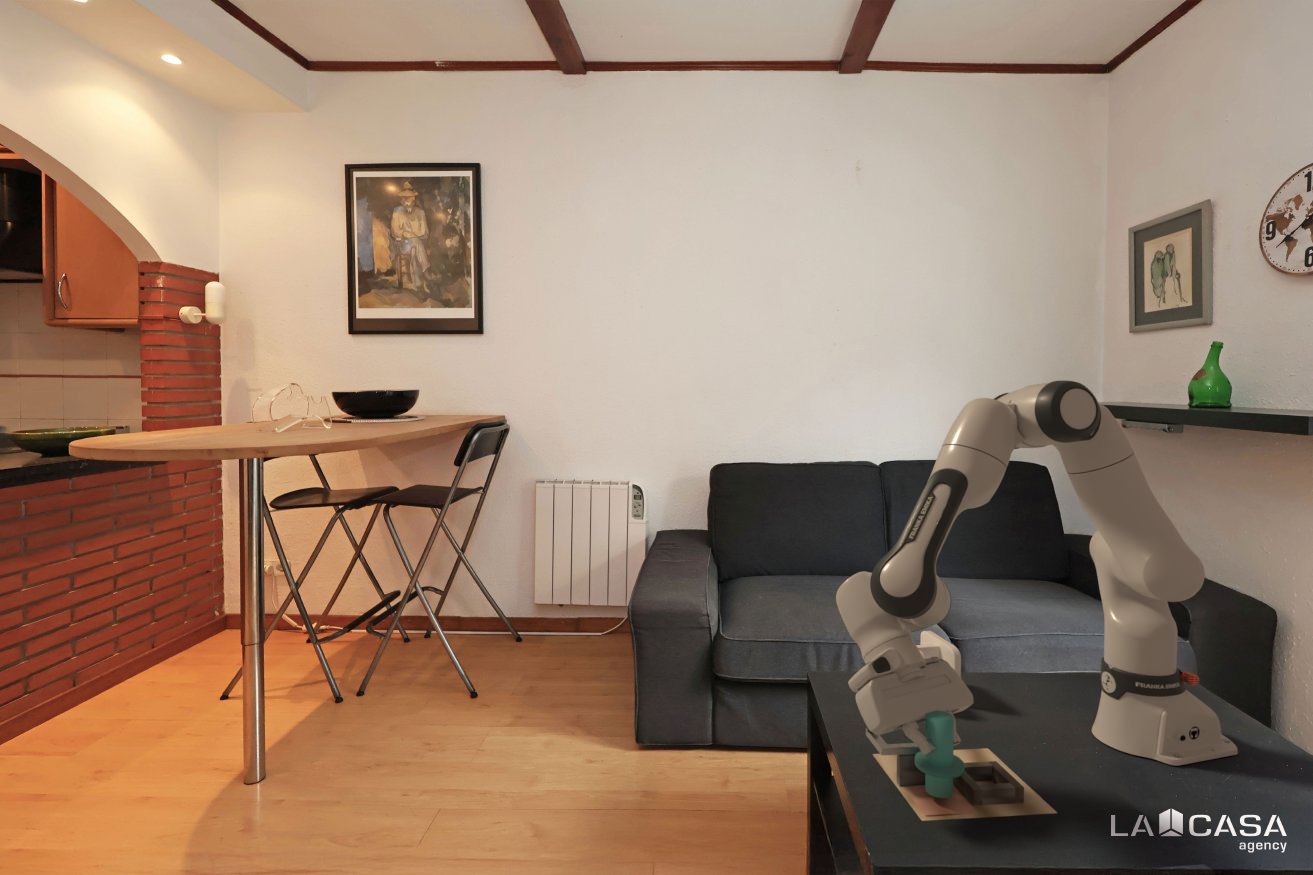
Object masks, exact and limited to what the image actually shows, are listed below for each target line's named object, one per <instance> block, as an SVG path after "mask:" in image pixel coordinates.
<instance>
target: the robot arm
mask: <svg viewBox="0 0 1313 875" xmlns="http://www.w3.org/2000/svg"><path fill="white" fill-rule="evenodd" d="M1047 446H1053V447H1055V449H1057V451H1058V452H1059V455H1060V458H1061V460H1062V463H1063V465H1064V468H1065V471H1066V474H1067V475H1068V479H1069V480H1070V483H1071V485H1072V487H1073V489H1074V492H1075V494H1076V496H1077V499H1078V500H1079V503H1080V505H1081V508H1082V510H1083V512H1084V513H1085V514H1086V516H1087V517H1088V518H1089V520H1091V522H1092V523H1093V525H1094V526H1095V528H1096V529H1097V530H1096V531H1095V532H1094V533H1093V535H1092V537H1091V539H1090V542H1089V554H1090V556H1091V559H1092V562H1093V563H1094V566H1095V570H1096V576H1097V577H1096V578H1097V581H1098V587H1099V588H1098V589H1099V594H1100V598H1101V605H1102V609H1103V610H1102V611H1103V617H1104V626H1103V627H1104V634H1103V635H1104V636H1103V637H1104V638H1103V639H1104V640H1103V656H1102V658H1101V659H1100V674H1099V675H1100V677H1099V678H1100V685H1101V692H1100V693H1101V694H1100V699H1099V704H1098V708H1097V709H1098V710H1097V712H1096V717H1095V720H1094V722H1093V724H1092V727H1091V733H1092V734H1093V736H1094V737H1095V738H1096V739H1097V740H1099V741H1100V742H1102V743H1103V744H1105V745H1106V746H1109V747H1111V748H1112V749H1115V750H1117V751H1120V752H1122V753H1127V754H1130V755H1134V756H1138V757H1143V758H1148V759H1152V760H1156V761H1158V762H1162V763H1163V764H1166V765H1170V766H1178V767H1179V766H1183V765H1189V764H1194V763H1200V762H1204V761H1210V760H1215V759H1220V758H1224V757H1229V756H1236V755H1238V754H1239V750H1238V747H1237V745H1236V744H1235V743H1234V742H1233V741H1232V739H1229V738H1228V737H1226V736H1225V735H1224V734H1222V728H1221V723H1220V720H1219V717H1218V715H1217V713H1216V712H1215V711H1214V710H1213V709H1212V708H1211V707H1210V706H1208V705H1207V704H1205V702H1203V701H1202V700H1200V699H1199V698H1198V697H1196V696H1195V695H1194V694H1192V693H1191V692H1190V691H1189V690H1187V689H1186V686H1185V684H1184V683H1187V684H1188V685H1190V686H1193V687H1195V686H1197V685H1198V684H1199V683H1200V677H1199V676H1198V675H1197V674H1195V673H1192V671H1182V670H1181V669H1180V668H1178V667H1177V663H1178V662H1177V658H1178V655H1177V654H1178V626H1177V622H1176V620H1175V618H1174V617H1173V615H1172V612H1171V608H1170V607H1169V602H1171V603H1177V602H1182V601H1183V602H1184V601H1187V600H1189V599H1190V598H1192V597H1193V596H1195V595H1197V593H1198V592H1199V591H1200V590H1201V589H1202V587H1203V584H1204V583H1205V582H1204V581H1205V576H1206V572H1205V567H1204V564H1203V562H1202V560H1201V559H1200V557H1199V556H1198V555H1197V554H1196V553H1195V552H1194V551H1193V550H1192V549H1191V548H1190V547H1189V546H1188V544H1187V542H1185V541H1184V539H1183V537H1182V535H1181V533H1179V531H1178V529H1177V527H1176V526H1175V525H1174V523H1173V522H1172V520H1171V519H1170V518H1169V516H1168V514H1167V513H1166V511H1165V509H1163V507H1162V506H1161V505H1160V502H1158V500H1157V498H1156V496H1155V495H1154V493H1153V491H1152V490H1151V487H1150V485H1149V483H1148V481H1147V478H1146V476H1145V474H1144V472H1143V470H1142V468H1141V465H1140V463H1139V461H1138V458H1137V457H1136V455H1135V452H1134V451H1135V450H1134V449H1133V447H1132V446H1131V442H1130V441H1129V439H1128V438H1127V436H1126V434H1125V431H1124V430H1123V428H1122V427H1121V425H1120V424H1119V422H1118V421H1117V419H1116V418H1115V416H1114V415H1113V414H1112V412H1111V411H1110V409H1109V408H1107V407H1106V406H1105V405H1104V404H1101V403H1099V401H1098V399H1097V397H1096V395H1094V393H1093V392H1092V390H1090V389H1089V388H1088V387H1087V386H1085V385H1084V384H1082V383H1080V382H1078V381H1073V380H1064V379H1062V380H1053V381H1050V382H1044V383H1038V384H1032V385H1031V384H1030V385H1027V386H1024V387H1022V388H1020V389H1017V390H1014V391H1011V392H1005V393H1002V394H999V395H997V396H996V397H994V398H988V397H983V398H982V397H980V398H976V399H972V400H970V401H969V402H967V403H966V404H965V405H964V406H963V407H962V409H961V410H960V412H959V414H958V415H957V416H956V418H955V420H954V421H953V423H952V424H951V427H950V428H949V430H948V432H947V434H946V436H945V438H944V440H943V443H942V445H941V448H940V450H939V452H938V454H937V457H936V460H935V463H934V466H933V468H932V470H931V473H930V476H929V478H928V480H927V482H926V485H925V486H924V488H923V489H922V492H921V494H920V496H919V498H918V499H917V500H916V501H917V502H916V504H915V506H914V507H913V510H912V511H911V514H910V516H909V518H908V521H907V522H906V524H905V526H904V528H903V530H902V532H901V534H900V536H899V537H898V540H897V541H896V543H895V544H894V546H892V548H890V550H889V551H888V552H886V554H885V555H883V557H882V558H880V559H879V561H878V562H877V563H876V564H875V566H874V568H873V570H872V572H869V571H866V570H865V571H864V570H863V571H858V572H856V573H855V574H851V575H850V576H849V577H847V578H846V579H845V580H844V581H843V582H841V584H840V585H839V587H838V589H837V591H836V595H835V602H836V606H837V608H838V612H839V614H840V616H841V618H842V621H843V623H844V625H845V628H846V630H847V631H848V633H849V636H850V637H851V638H852V639H853V642H855V643H856V644H857V646H858V647H859V649H860V653H861V658H862V659H863V661H864V665H863V666H862V667H861V668H860V669H859V670H858V671H857V672H856V673H854V675H852V677H851V678H850V679H849V680H848V682H847V683H848V686H849V688H850V690H851V691H852V692H853V693H856V694H855V702H856V705H857V707H858V710H859V714H860V715H861V718H862V719H863V722H864V723H865V725H866V728H867V727H868V729H869V730H870V731H871V732H872V733H874V734H875V735H880V736H881V735H885V734H887V733H891V732H895V731H898V730H902V731H903V733H904V735H905V736H906V737H907V738H908V739H910V741H912V743H916V744H917V745H918V747H919V748H920V750H921V752H922V754H923V755H926V754H929V753H932V752H933V751H935V750H936V747H935V745H934V744H933V742H932V740H931V738H929V739H926V736H924V734H922V733H921V731H919V729H920V726H919V725H920V724H923V723H926V713H929V712H932V711H936V710H938V711H944V712H947V713H949V714H951V715H952V716H953V717H954V745H953V747H955V746H957V745H959V744H960V743H961V742H962V740H961V737H960V735H959V734H958V732H957V723H956V717H955V715H954V714H957V713H960V712H963V711H965V710H967V709H969V707H971V706H972V705H973V704H974V695H973V693H972V691H971V690H970V689H969V687H968V686H967V684H966V683H965V681H964V680H963V679H962V677H961V678H960V676H959V675H958V674H957V672H956V671H955V670H954V669H953V668H952V667H951V666H950V665H949V663H948V662H947V661H944V660H943V659H940V658H939V657H936V656H935V657H931V658H928V659H924V658H923V656H922V654H921V653H920V651H919V649H918V648H917V646H916V645H917V644H916V643H915V640H914V639H913V638H912V636H911V633H914V632H918V631H922V630H924V629H927V628H931V627H933V626H935V625H938V624H939V623H942V622H943V620H944V619H945V618H947V617H948V614H949V613H950V610H951V606H952V596H951V592H950V590H949V587H948V586H947V584H946V583H945V582H944V581H943V579H941V577H940V576H938V574H937V560H938V557H939V555H940V553H941V551H942V548H943V546H944V544H945V543H946V540H947V537H948V535H949V533H950V531H951V529H952V527H953V524H954V523H955V520H956V519H957V518H958V516H959V515H960V514H962V512H965V510H969V509H975V508H979V507H982V506H984V505H986V504H988V503H989V502H991V499H992V498H993V496H994V495H995V493H996V492H997V490H998V488H999V487H1000V484H1001V483H1002V480H1003V478H1004V476H1005V473H1006V470H1007V468H1008V466H1009V464H1010V459H1011V456H1012V453H1013V452H1014V450H1018V449H1035V448H1036V449H1037V448H1039V449H1040V448H1044V447H1047ZM939 661H941V662H939Z"/></svg>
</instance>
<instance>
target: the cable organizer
mask: <svg viewBox="0 0 1313 875" xmlns="http://www.w3.org/2000/svg"><path fill="white" fill-rule="evenodd" d="M916 646H917V648H918V649H919V651H920V653H921V654H922V656H923V658H924V659H928V658H931V657H935V656H936V657H939V658H940V659H943V660H944V661H947V662H948V663H949V665H950V666H951V667H952V668H953V669H954V670H955V671H956V672H957V674H958V675H959V676H960V678H961V679H962V655H961V652H960V650H959V649H958V648H957V647H956V645H954V644H953V643H951V642H949V641H947V640H946V639H944V638H943V637H941V636H939V635H938V634H937V633H935V632H934V631H932V630H923V631H921V633H920V644H916ZM939 662H941V661H939Z"/></svg>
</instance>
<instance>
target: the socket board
mask: <svg viewBox="0 0 1313 875" xmlns="http://www.w3.org/2000/svg"><path fill="white" fill-rule="evenodd" d="M915 755H916V754H901V755H882V756H881V754H880V753H872V756H873V758H875V760H876V761H877V763H878V764H879V765H880V767H881V768H882V769H883V771H884V772H885V773H886V775H887V776H888V777H889V779H890V780H891V782H892V783H893V784H894V785H895V787H896V788H897V789H898V791H899V792H900V794H902V796H903V798H904V799H905V800H906V801H907V803H908V804H909V806H910V807H911V808H912V811H914V813H915V814H916V816H918V818H919V819H920V820H921V821H922V822H930V821H932V822H933V821H946V820H947V821H948V820H962V819H963V820H964V819H965V820H967V819H981V818H997V817H998V818H999V817H1012V816H1013V817H1014V816H1016V817H1017V816H1032V815H1051V814H1058V811H1056V810H1055V809H1054V807H1052V806H1050V804H1049V803H1048V802H1046V800H1044V799H1043V798H1042V797H1041V796H1040V795H1039V794H1038V793H1037V792H1036V791H1035V790H1034V789H1032V787H1030V786H1029V785H1028V784H1027V783H1026V782H1025V781H1023V779H1021V778H1020V777H1019V776H1018V775H1017V774H1016V773H1015V772H1014V771H1013V770H1012V769H1011V768H1009V767H1010V766H1009V767H1008V765H1006V764H1005V763H1004V762H1003V761H1002V760H1001V759H1000V758H999V757H998V756H997V755H996V754H994V752H992V751H991V750H990V749H989V748H970V749H969V748H968V749H967V748H966V749H953V755H955V756H957V757H959V758H960V759H961V760H962V761H963V762H964V765H965V768H964V774H963V775H961V776H960V777H957V778H953V795H952V796H951V797H949V798H937V797H934V796H932V795H930V794H928V793H927V792H926V790H925V773H923V772H922V771H920V770H919V769H918V768H917V767H916V765H915Z"/></svg>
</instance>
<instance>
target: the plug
mask: <svg viewBox="0 0 1313 875" xmlns="http://www.w3.org/2000/svg"><path fill="white" fill-rule="evenodd" d="M954 717H955V716H954ZM954 717H953V716H952V715H951V714H949V713H947V712H944V711H938V710H936V711H932V712H929V713H926V722H925V738H926V739H929V738H931V740H932V742H933V744H934V745H935V747H936V750H935V751H933V752H932V753H929V754H926V755H923V754H922V752H918V753H917V754H916V755H915V765H916V767H917V768H918V769H919V770H920V771H922V772H923V773H925V790H926V792H927V793H928V794H930V795H932V796H934V797H937V798H949V797H951V796H952V795H953V778H957V777H960V776H961V775H963V774H964V768H965V765H964V762H963V761H962V760H961V759H960V758H959V757H957V756H955V755H953V750H954V746H953V745H954Z"/></svg>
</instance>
